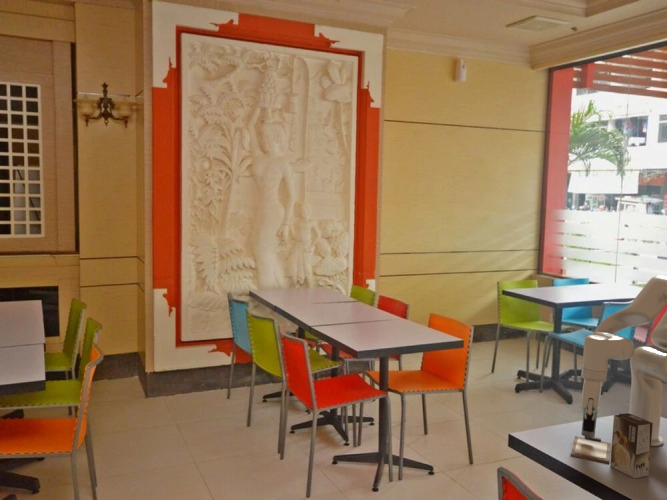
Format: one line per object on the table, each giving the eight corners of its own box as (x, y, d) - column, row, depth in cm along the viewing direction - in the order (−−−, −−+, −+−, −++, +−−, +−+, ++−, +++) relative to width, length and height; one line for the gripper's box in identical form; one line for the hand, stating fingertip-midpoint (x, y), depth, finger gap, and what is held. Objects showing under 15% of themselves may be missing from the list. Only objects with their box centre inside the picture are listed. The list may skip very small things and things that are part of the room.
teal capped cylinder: (581, 431, 202) (584, 405, 201) (595, 434, 200) (598, 407, 200) (580, 435, 198) (583, 408, 198) (594, 438, 197) (597, 411, 196)
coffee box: (649, 475, 180) (654, 422, 179) (634, 479, 178) (638, 425, 176) (623, 462, 189) (628, 412, 187) (608, 465, 186) (612, 414, 185)
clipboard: (575, 438, 206) (575, 433, 206) (610, 445, 202) (611, 440, 201) (570, 455, 192) (571, 450, 192) (609, 463, 187) (609, 458, 187)
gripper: (583, 366, 207) (578, 418, 208) (579, 378, 192) (574, 434, 193) (607, 370, 204) (602, 423, 205) (605, 382, 189) (600, 440, 190)
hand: (588, 428), depth 199 cm, fingers closed on teal capped cylinder, 4 cm apart
